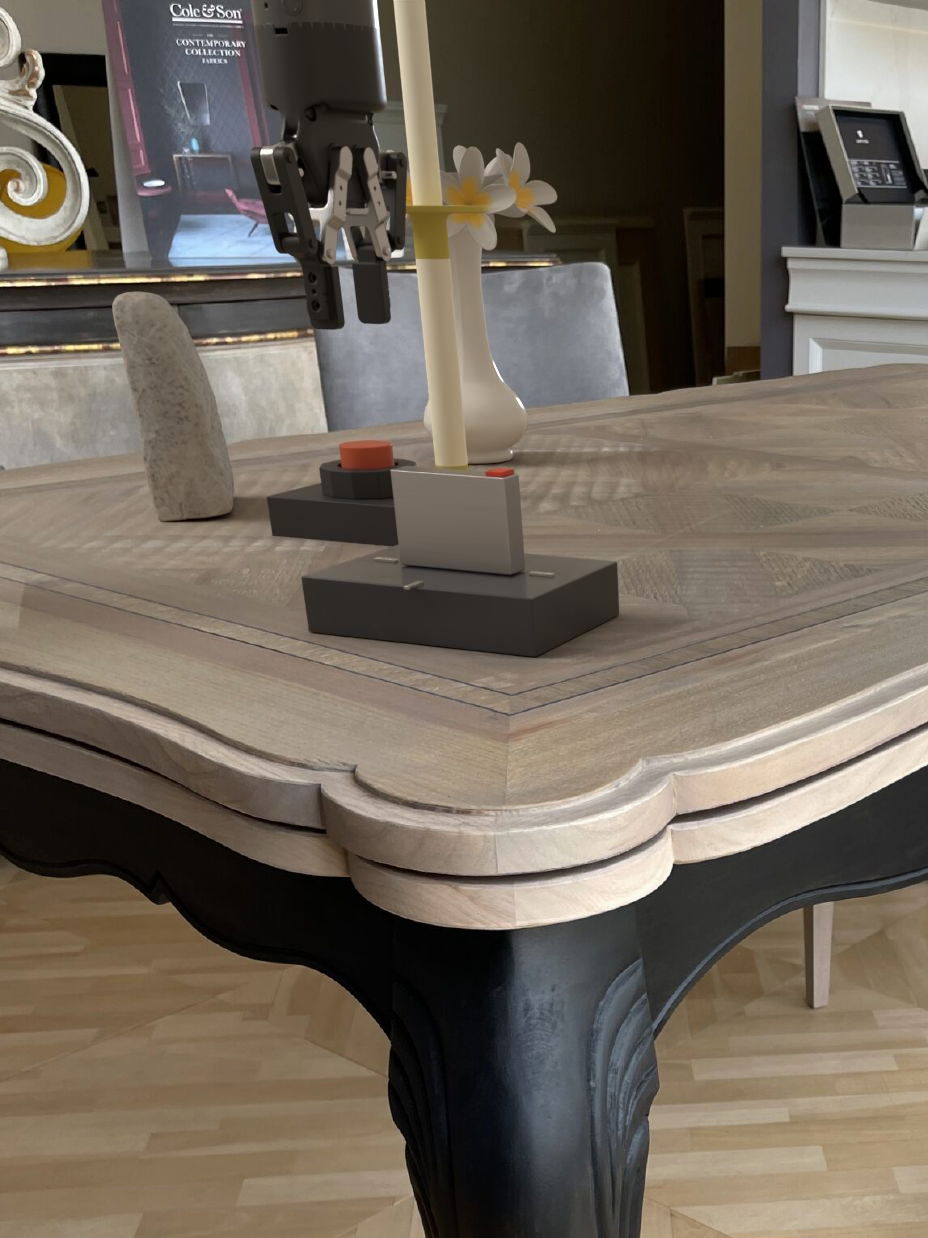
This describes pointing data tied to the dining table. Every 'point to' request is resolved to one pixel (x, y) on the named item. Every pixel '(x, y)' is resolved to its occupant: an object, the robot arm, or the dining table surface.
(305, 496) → the button box
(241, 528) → the dining table surface
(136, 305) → the decorative stone
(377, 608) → the dark grey slotted base
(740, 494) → the dining table surface
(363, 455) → the button
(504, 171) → the flower vase
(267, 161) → the robot arm
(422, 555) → the grey box
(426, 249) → the candle
